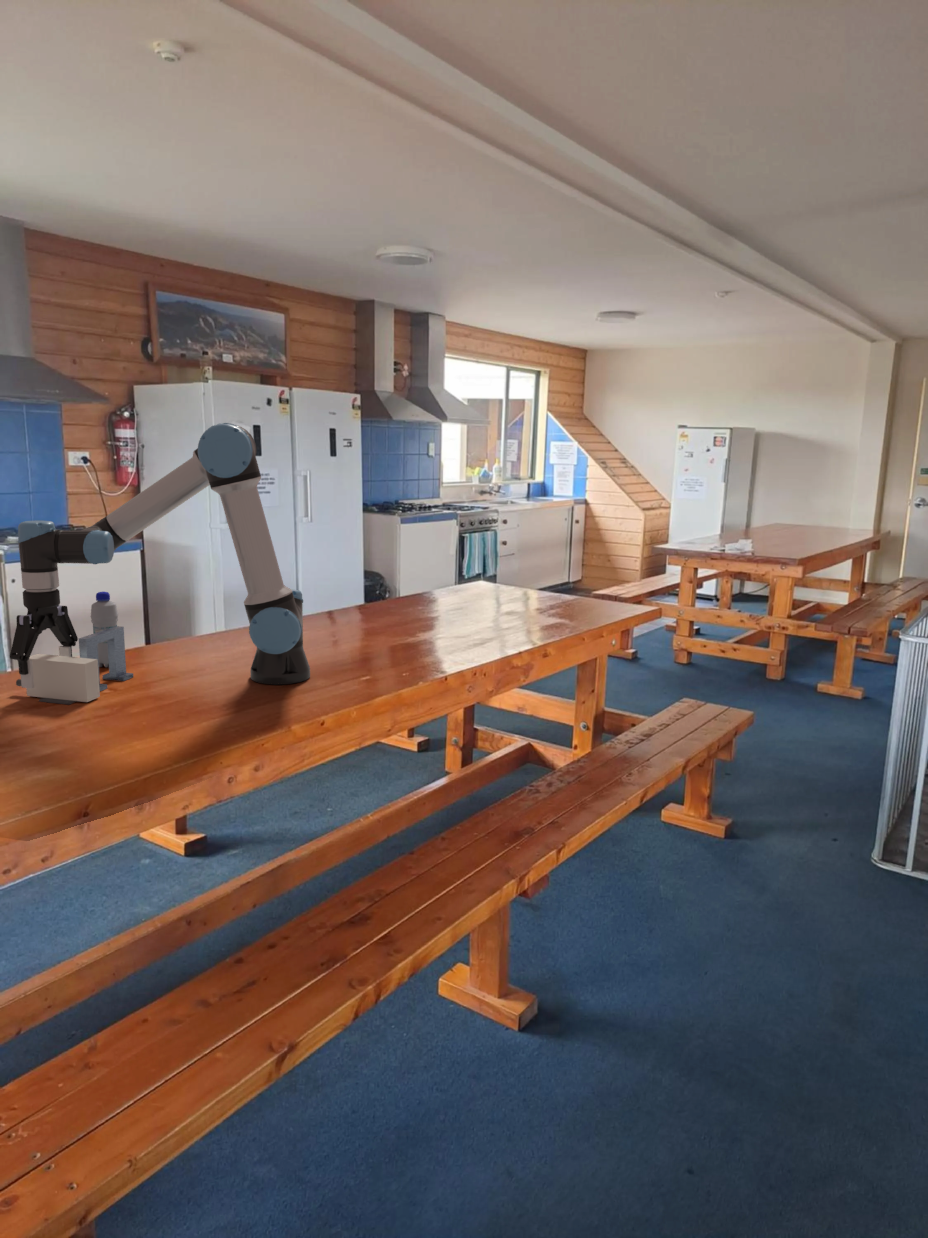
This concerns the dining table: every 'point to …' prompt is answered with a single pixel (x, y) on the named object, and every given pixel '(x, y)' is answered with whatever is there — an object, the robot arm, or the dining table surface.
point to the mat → (56, 701)
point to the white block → (64, 678)
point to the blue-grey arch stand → (115, 653)
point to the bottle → (103, 622)
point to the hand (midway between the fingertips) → (47, 680)
